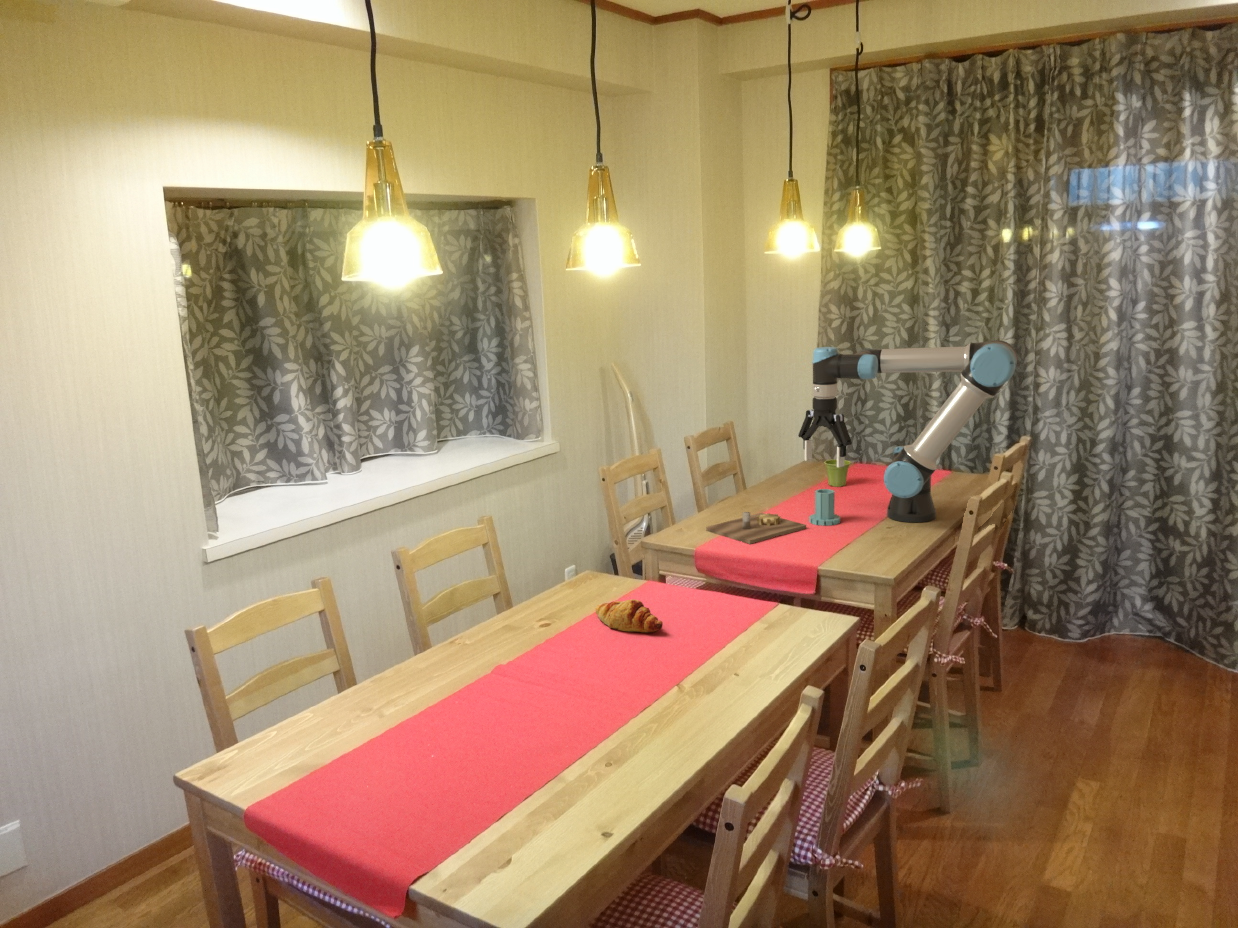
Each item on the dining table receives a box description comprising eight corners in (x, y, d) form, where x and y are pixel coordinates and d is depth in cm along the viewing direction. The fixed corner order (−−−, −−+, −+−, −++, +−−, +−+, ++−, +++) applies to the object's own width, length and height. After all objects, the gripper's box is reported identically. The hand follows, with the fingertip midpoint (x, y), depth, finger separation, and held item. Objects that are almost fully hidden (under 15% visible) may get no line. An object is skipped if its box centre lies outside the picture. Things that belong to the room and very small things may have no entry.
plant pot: (848, 481, 366) (848, 459, 364) (851, 487, 357) (852, 464, 355) (823, 482, 367) (823, 459, 365) (825, 488, 358) (825, 465, 356)
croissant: (589, 632, 243) (577, 609, 238) (612, 603, 248) (600, 581, 244) (656, 650, 229) (644, 627, 224) (678, 619, 234) (667, 596, 230)
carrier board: (806, 528, 309) (806, 509, 308) (749, 544, 296) (749, 524, 294) (761, 516, 325) (761, 498, 324) (706, 530, 311) (705, 511, 310)
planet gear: (846, 521, 315) (846, 491, 312) (825, 527, 309) (825, 496, 307) (823, 515, 322) (823, 486, 320) (803, 521, 317) (803, 491, 315)
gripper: (787, 394, 315) (787, 459, 320) (847, 402, 295) (846, 471, 300) (804, 391, 319) (803, 455, 324) (864, 399, 299) (862, 467, 304)
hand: (824, 463), depth 312 cm, fingers open, 13 cm apart
